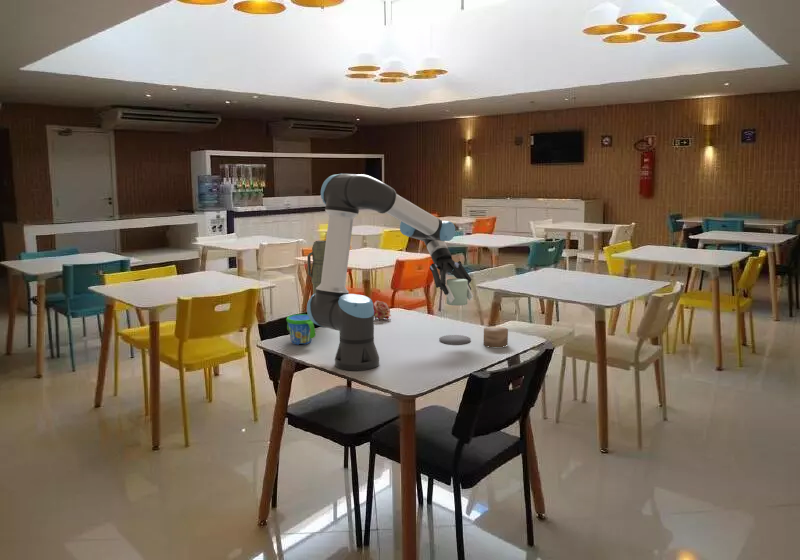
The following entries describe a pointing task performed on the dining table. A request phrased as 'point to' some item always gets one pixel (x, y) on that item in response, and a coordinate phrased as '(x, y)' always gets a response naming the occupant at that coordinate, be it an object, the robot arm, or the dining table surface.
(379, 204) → the robot arm
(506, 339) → the brown wooden block
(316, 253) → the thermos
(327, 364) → the dining table surface
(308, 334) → the snack cup
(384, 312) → the flower
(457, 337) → the mat
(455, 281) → the cap
